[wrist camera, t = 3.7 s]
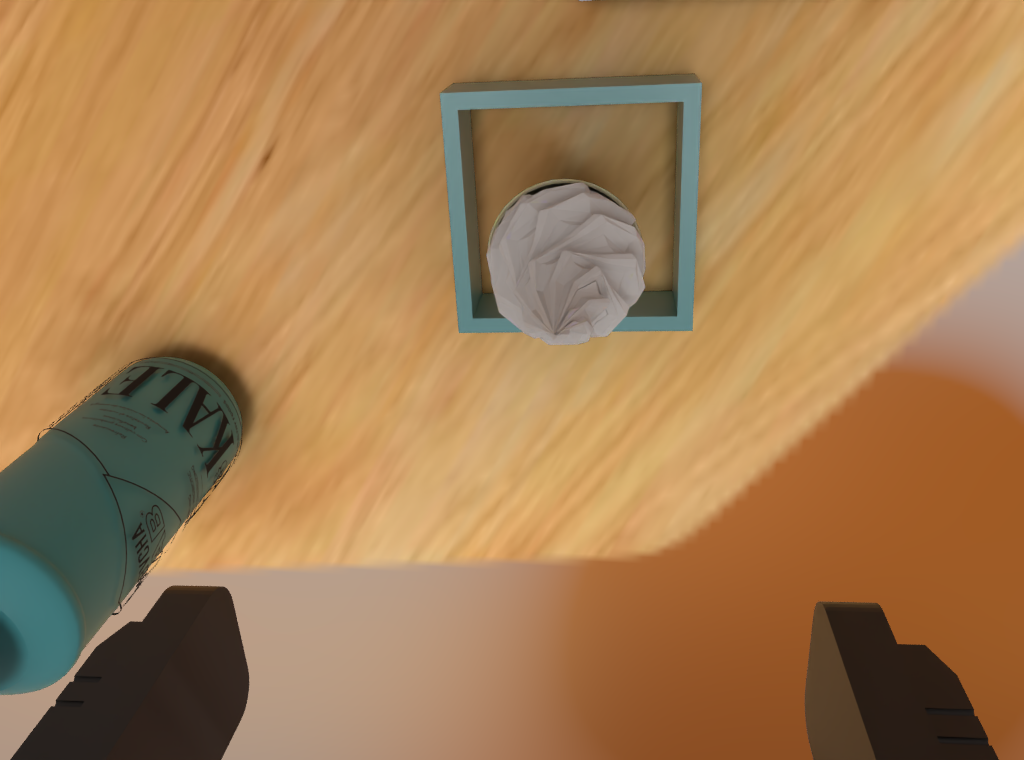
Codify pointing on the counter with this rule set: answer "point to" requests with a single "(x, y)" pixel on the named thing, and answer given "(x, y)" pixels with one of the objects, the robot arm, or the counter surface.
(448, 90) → the crate
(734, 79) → the counter surface
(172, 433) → the beverage bottle
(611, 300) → the ice cream cone
